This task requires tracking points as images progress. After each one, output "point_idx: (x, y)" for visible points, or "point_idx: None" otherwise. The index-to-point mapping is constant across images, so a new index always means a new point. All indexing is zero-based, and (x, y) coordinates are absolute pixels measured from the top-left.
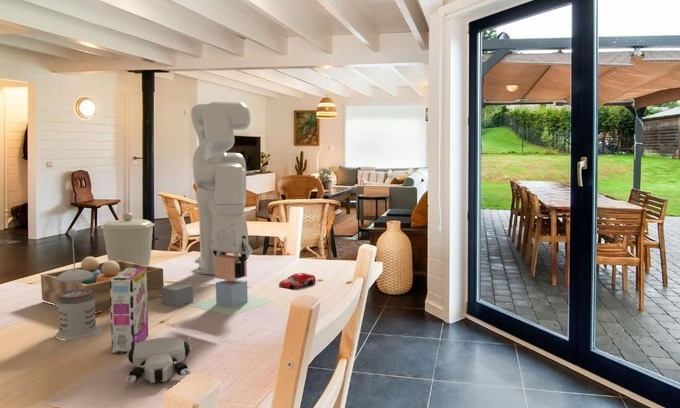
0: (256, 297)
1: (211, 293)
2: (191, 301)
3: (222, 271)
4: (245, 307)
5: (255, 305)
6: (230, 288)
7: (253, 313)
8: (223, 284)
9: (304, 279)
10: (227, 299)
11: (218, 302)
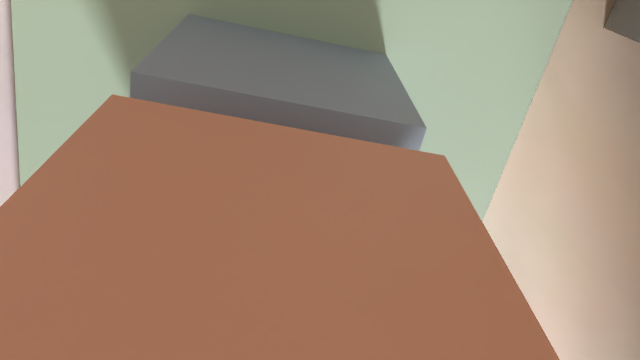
0: None
1: (600, 323)
2: (637, 17)
3: (293, 183)
4: (84, 62)
5: (51, 141)
6: (161, 65)
7: (12, 42)
8: (282, 98)
9: None
10: (237, 41)
11: (359, 52)
